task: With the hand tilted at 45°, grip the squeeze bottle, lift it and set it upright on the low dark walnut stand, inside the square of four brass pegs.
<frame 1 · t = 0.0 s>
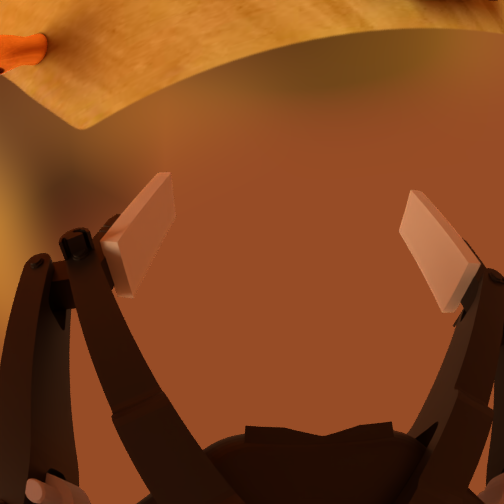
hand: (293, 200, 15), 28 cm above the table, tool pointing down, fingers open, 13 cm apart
beer glass: (36, 49, 30), on the table
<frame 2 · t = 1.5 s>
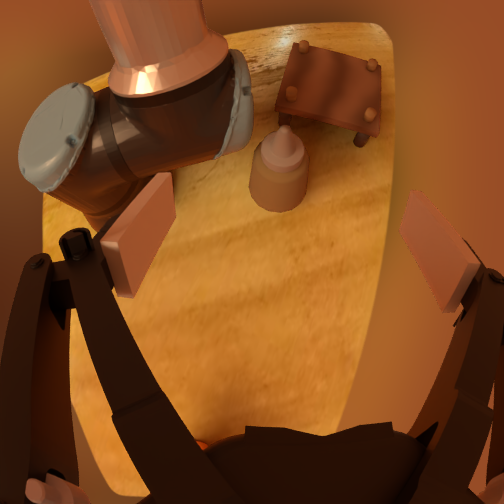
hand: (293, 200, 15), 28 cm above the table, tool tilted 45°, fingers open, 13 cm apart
walnut stand: (327, 103, 47), on the table
squeeze bottle: (276, 194, 44), on the table
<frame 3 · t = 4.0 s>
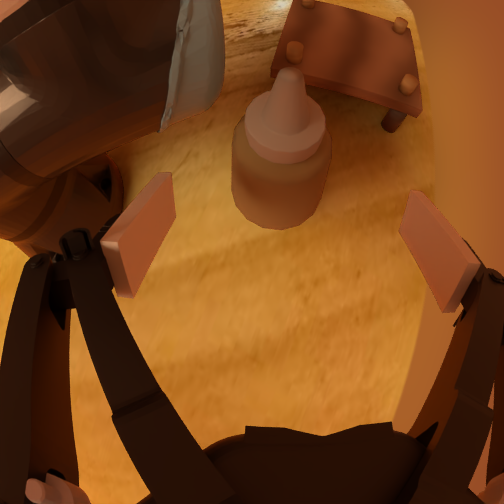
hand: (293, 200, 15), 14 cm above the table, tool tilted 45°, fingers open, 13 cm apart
walnut stand: (342, 74, 32), on the table
squeeze bottle: (275, 200, 30), on the table
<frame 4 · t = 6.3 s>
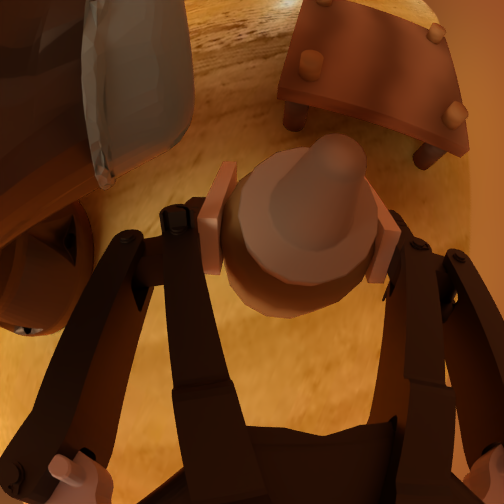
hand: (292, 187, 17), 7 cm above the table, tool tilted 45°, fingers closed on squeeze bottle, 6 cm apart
walnut stand: (364, 91, 26), on the table
squeeze bottle: (280, 264, 24), on the table, touching gripper
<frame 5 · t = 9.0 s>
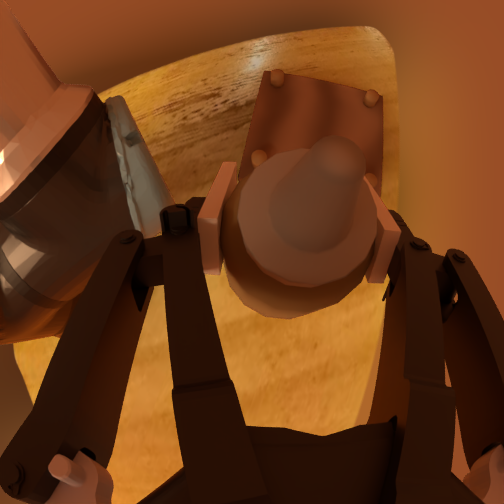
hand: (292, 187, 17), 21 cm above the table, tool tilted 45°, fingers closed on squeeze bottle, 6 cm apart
walnut stand: (311, 152, 38), on the table
squeeze bottle: (280, 265, 24), point 13 cm above the table, touching gripper
when the fingers open (15 cm above the table, at t = 11.9 s): squeeze bottle drops 1 cm, resting on walnut stand.
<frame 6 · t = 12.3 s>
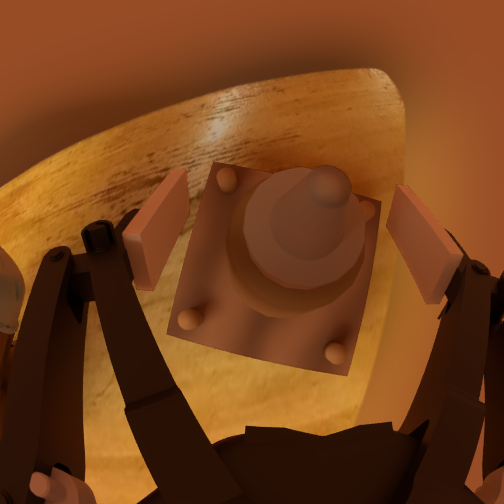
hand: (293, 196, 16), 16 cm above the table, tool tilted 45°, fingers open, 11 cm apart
walnut stand: (276, 273, 31), on the table
squeeze bottle: (280, 267, 25), point 6 cm above the table, touching walnut stand
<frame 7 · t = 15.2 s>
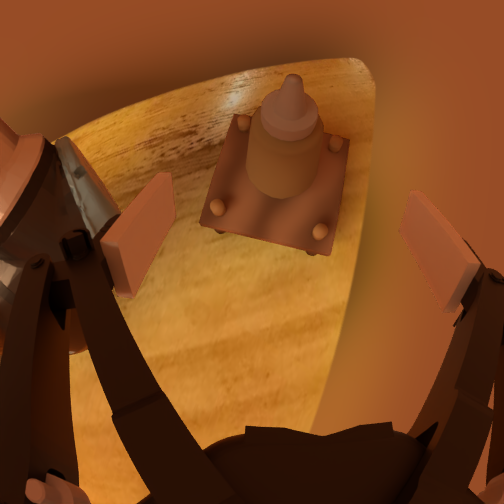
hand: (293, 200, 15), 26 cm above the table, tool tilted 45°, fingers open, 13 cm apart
walnut stand: (277, 194, 42), on the table
squeeze bottle: (279, 177, 36), point 6 cm above the table, touching walnut stand
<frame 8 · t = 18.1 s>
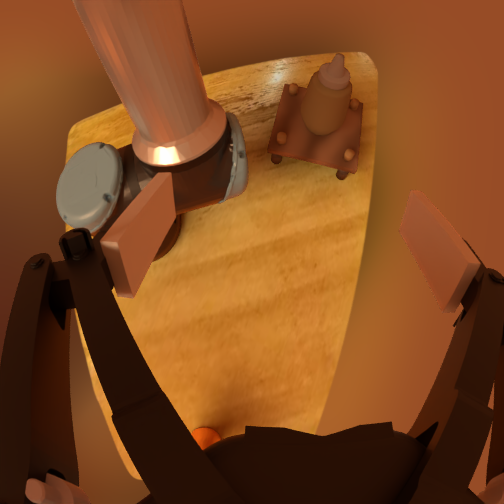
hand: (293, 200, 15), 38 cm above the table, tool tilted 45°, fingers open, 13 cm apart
walnut stand: (314, 139, 56), on the table
beer glass: (205, 439, 48), on the table
squeeze bottle: (319, 123, 50), point 6 cm above the table, touching walnut stand
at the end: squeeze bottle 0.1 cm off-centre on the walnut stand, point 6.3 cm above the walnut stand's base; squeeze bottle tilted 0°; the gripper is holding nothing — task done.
